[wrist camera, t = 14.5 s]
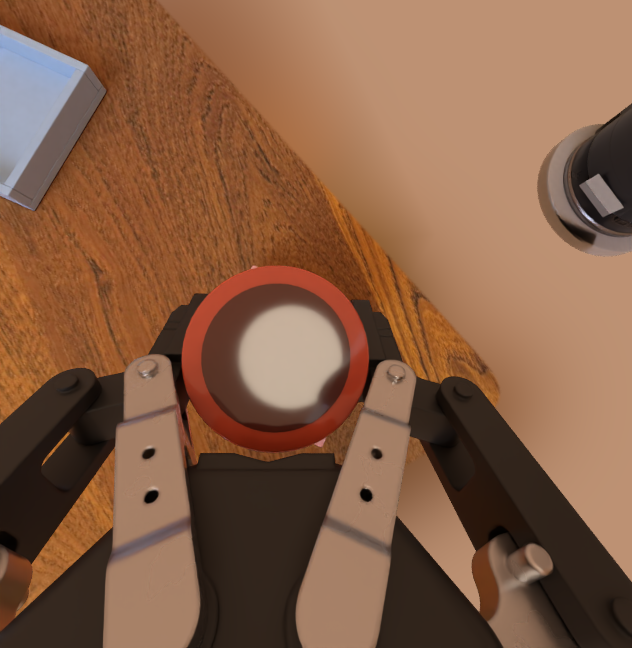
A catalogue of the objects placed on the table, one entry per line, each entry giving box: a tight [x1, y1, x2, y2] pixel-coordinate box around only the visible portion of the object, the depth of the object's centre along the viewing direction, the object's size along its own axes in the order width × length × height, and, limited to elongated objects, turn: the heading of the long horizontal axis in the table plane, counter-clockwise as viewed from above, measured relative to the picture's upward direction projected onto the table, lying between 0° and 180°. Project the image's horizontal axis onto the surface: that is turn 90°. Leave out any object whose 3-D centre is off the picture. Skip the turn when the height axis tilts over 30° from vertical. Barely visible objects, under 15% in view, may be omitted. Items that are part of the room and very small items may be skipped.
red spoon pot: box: [182, 266, 369, 453], centre depth 13 cm, size 6×6×8 cm
